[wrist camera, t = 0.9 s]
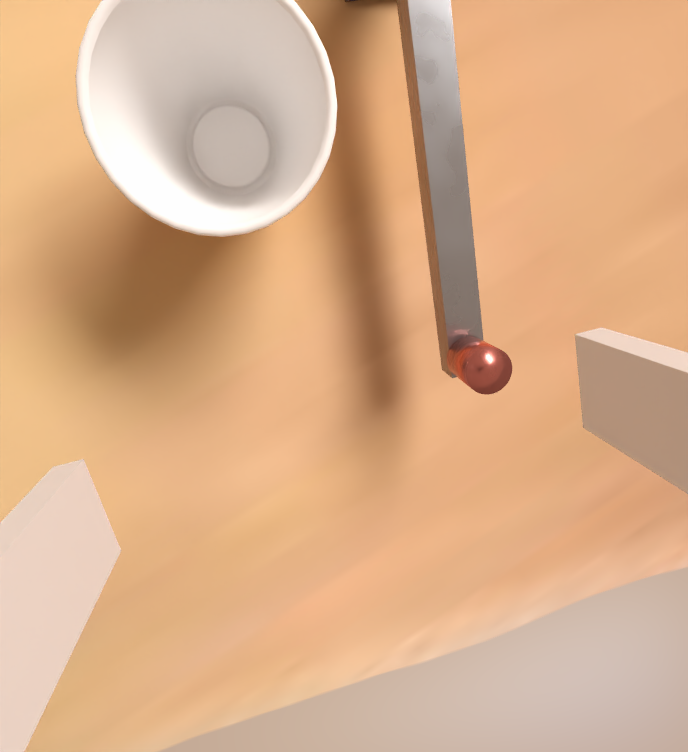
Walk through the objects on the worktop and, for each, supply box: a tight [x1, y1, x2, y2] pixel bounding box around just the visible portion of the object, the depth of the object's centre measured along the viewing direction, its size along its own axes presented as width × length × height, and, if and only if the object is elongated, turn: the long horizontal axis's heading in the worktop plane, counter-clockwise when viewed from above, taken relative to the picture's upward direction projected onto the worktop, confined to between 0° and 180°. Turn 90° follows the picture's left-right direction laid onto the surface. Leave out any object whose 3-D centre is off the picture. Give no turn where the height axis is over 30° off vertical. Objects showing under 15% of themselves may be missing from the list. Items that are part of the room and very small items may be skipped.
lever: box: [397, 0, 512, 394], centre depth 24 cm, size 4×26×5 cm, turn 10°
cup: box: [76, 0, 337, 237], centre depth 25 cm, size 10×10×11 cm
